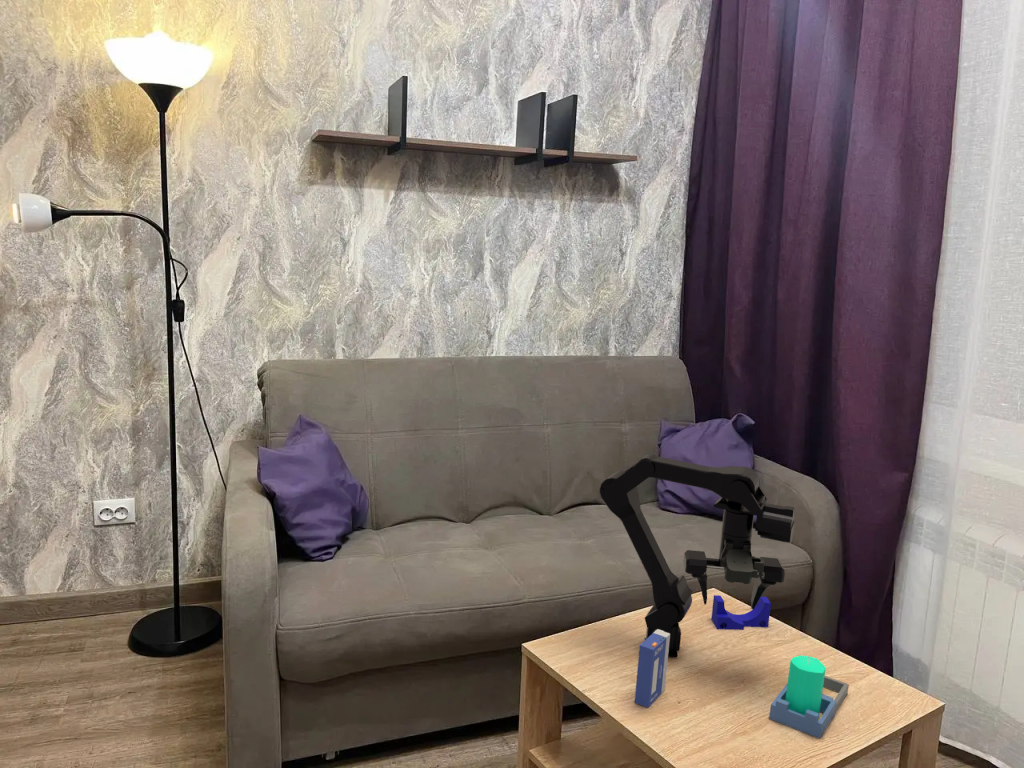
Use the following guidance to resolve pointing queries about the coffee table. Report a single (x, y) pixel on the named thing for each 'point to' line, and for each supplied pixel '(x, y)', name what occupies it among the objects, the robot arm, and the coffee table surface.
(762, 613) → the cable clip
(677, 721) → the coffee table surface
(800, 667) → the candle
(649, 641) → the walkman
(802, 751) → the coffee table surface
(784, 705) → the frame
